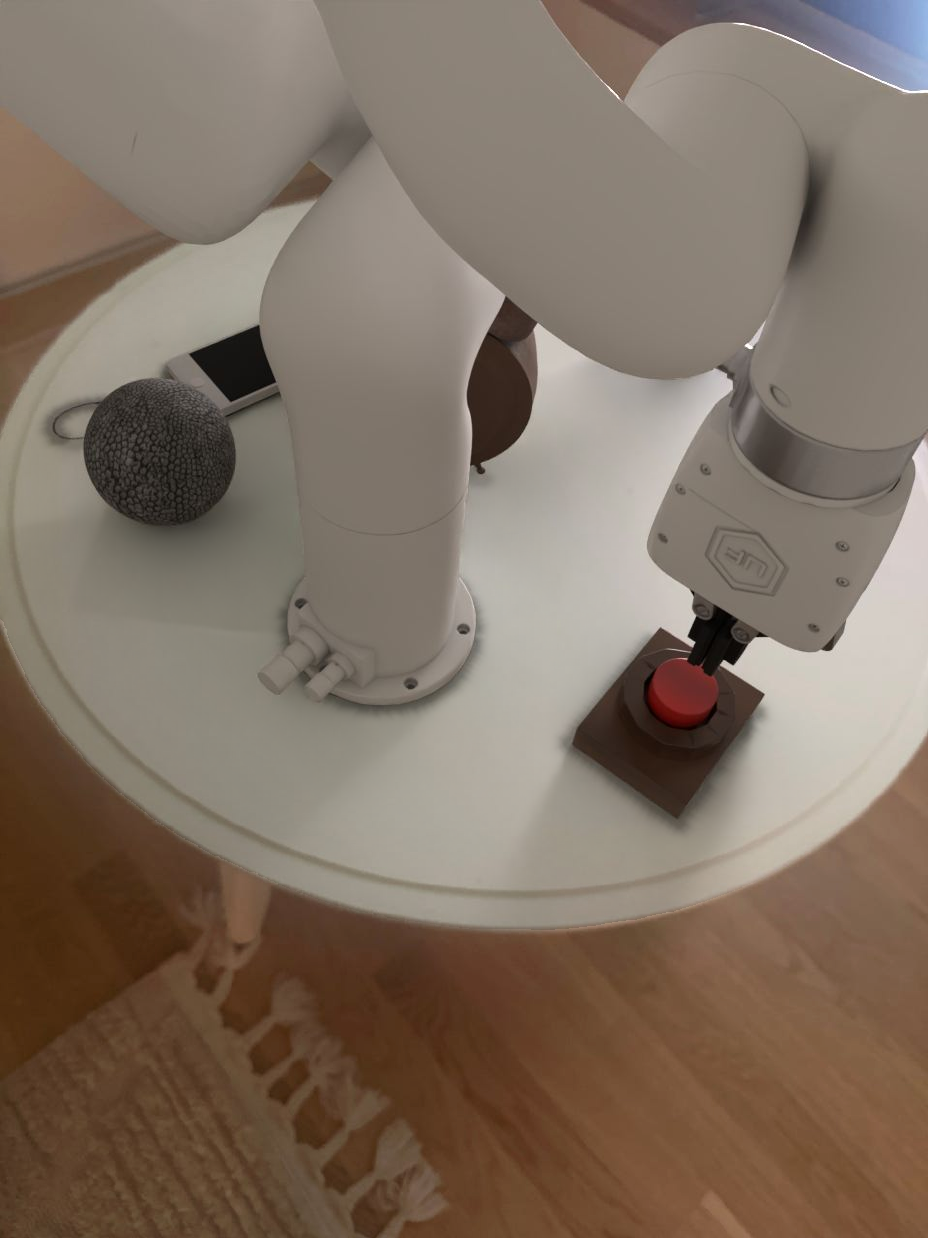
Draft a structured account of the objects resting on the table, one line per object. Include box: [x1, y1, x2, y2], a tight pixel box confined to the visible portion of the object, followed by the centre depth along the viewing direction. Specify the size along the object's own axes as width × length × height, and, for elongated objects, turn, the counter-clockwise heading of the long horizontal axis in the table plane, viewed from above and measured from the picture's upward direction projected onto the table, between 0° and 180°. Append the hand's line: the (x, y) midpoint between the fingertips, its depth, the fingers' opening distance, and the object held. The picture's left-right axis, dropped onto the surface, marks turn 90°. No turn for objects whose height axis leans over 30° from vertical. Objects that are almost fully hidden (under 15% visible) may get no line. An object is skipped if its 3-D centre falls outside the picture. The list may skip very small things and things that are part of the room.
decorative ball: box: [82, 377, 237, 527], centre depth 67 cm, size 10×10×10 cm
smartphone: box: [165, 322, 280, 417], centre depth 80 cm, size 7×15×1 cm, turn 128°
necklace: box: [52, 399, 102, 441], centre depth 75 cm, size 4×6×1 cm, turn 104°
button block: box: [571, 626, 766, 820], centre depth 62 cm, size 10×8×4 cm
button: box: [647, 658, 718, 728], centre depth 60 cm, size 4×4×2 cm
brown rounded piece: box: [467, 296, 539, 476], centre depth 68 cm, size 14×7×20 cm, turn 84°
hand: (711, 652), depth 56 cm, fingers closed
